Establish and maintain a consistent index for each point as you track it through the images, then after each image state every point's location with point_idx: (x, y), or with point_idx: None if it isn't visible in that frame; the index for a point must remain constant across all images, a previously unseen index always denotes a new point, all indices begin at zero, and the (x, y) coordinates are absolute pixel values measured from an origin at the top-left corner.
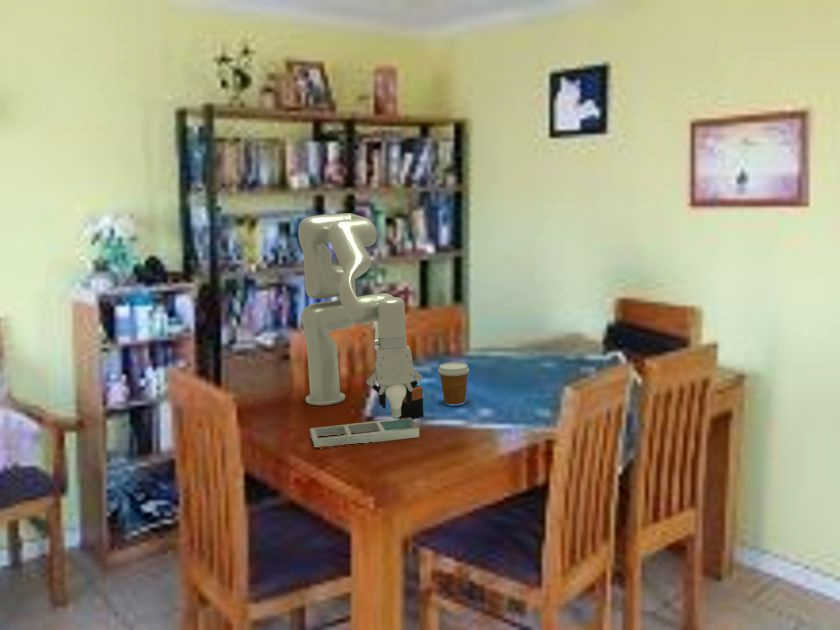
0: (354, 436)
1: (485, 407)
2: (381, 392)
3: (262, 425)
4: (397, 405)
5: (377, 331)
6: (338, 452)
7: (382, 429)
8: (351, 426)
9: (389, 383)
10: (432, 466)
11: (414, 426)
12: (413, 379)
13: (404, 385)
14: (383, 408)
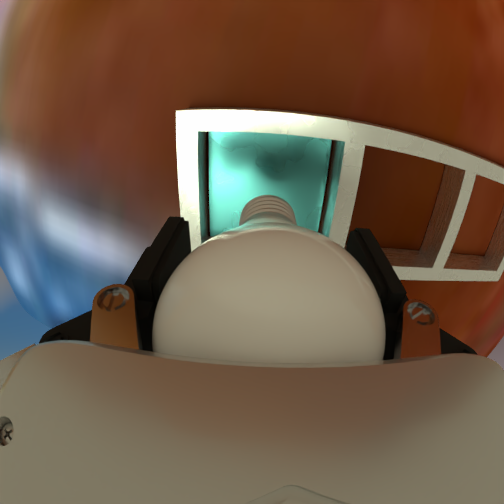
0: (462, 151)
1: (24, 298)
2: (414, 318)
3: (482, 349)
4: (268, 221)
5: None
6: (494, 107)
7: (350, 165)
8: (420, 264)
9: (410, 375)
10: None
11: (190, 144)
12: (20, 359)
13: (159, 349)
14: (364, 230)
